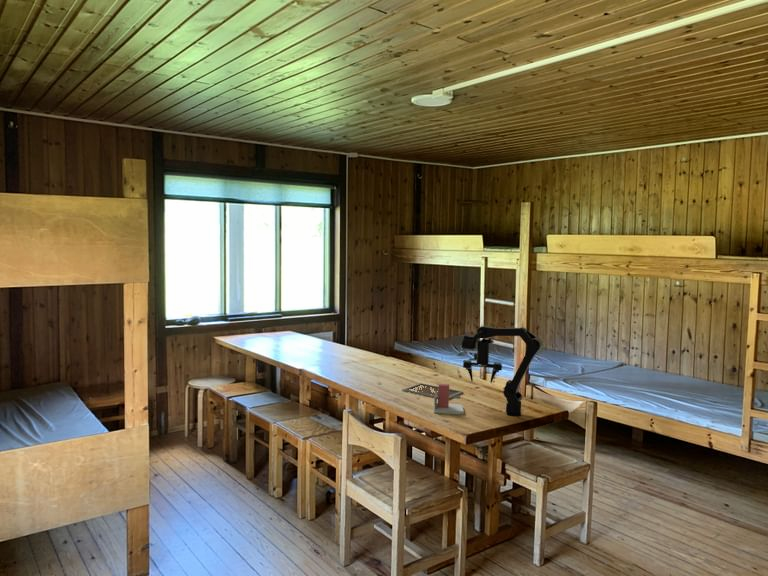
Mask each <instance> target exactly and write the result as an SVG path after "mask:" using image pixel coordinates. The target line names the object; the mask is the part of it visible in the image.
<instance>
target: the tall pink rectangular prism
mask: <svg viewBox="0 0 768 576" xmlns="http://www.w3.org/2000/svg"><path fill="white" fill-rule="evenodd" d="M438 387H439V389H438V399H437V403H438V408H448V404H450V403H449V400H450V399H449V389H450V383H438Z"/></svg>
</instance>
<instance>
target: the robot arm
mask: <svg viewBox="0 0 768 576" xmlns="http://www.w3.org/2000/svg"><path fill="white" fill-rule="evenodd" d="M492 337H493V338H494V337H520V338H521V339H522V341H523V342H524V343H525V345H527V346H526V349H525V354H524V356H523V358H522V361H521V362H520V364H519V367H518V368H517V370H516V372H515V374H514V376H513V378H512V379H509V380H507V381H506V382H505V386H504V387H503V389H502V390H503V397H504V398H506V403H505V413H506V414H507V416H515V417H516V416H517V417H521V416H522V400H523V398H524V397H523V395H522V394H521V392H520V387H521V382H522V380H523V378H524V376H525V374H526V372H528V369H529V367H530V365H531V363H532V361H533V359H534V358H535V357H536V355H537V354H538V353H539V351H541V349H542V348H543V346H544V343H543V340H542V339H541V338H540V337H537V336H535V334H533V333H532V332H530V331H529V330H528V329H527V328H526V327H524V326H523V327H496V326H495V327H494V326H492V325H482V326H480V327H479V328H477V330H476V334H475V335H474V336H471V335H463V339H462V342H461V348H462V349H463V350H469V351H474V350H475V349H477V350H476V351H477V352H475V353H473V360H474V361H476V362H472V360H470V359H469V360H467V359H466V360H463V362H462V368H464V369H465V370H466V371H467V372H468V374H469V377H470V381H471V382H473V377H474V376H473V367H474V368H475V367H476V368H477V367H478V368H487V369H489V368H490V369H491V370H492V372H491V377H490V384H492V383H493V380H494V378H495V376H496V374H498V373H499V372H500V371H502V370H503V364H502V363H501V362H496V361H495V362H493V363H489V359H490V358H489V357H490V345H491V344H493V343H494V340H493V339H492Z"/></svg>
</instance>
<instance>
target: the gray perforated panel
mask: <svg viewBox="0 0 768 576" xmlns="http://www.w3.org/2000/svg"><path fill="white" fill-rule="evenodd" d="M420 385H423V386H424V388H423V387H422V390H421V388H420V390H419V387H418V386H420ZM425 386H427V387H426V388H425ZM415 387H418V390H417V392H415V391H411V390H409V389H413V388H415ZM430 387H432V389H433V388H434V391H438V389H439V385H433V384H428V383H422V382H420V383H419V382H418V383H417V384H416V383H415V384H413V385H411V386H407V387H405V388H402V390H401V391H402V392H403V391H405V393H408V392H410V393H409V394H413V393H414V394H413V395H417V394H419V396H422V395H423V396H422V397H428V398H431V397H432V399H435V393H434V392H433V393H432V392H431V390H430ZM414 390H415V389H414ZM418 391H419V392H418ZM422 391H423V392H422ZM431 394H432V395H431ZM458 395H459V396H458ZM461 395H464V391H463V390H457V389H452V388H449V400H452V399H460V398H461ZM437 400H438V392H437Z"/></svg>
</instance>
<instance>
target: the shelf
mask: <svg viewBox="0 0 768 576" xmlns="http://www.w3.org/2000/svg"><path fill="white" fill-rule="evenodd" d="M433 399H434V402H433V413H434V414H445V415H446V414H447V415H460V414H464V415H465V411H464V408H463V407H464V406H463V404H457V403H449V404H448V408H438V399H437V391H435V398H433Z"/></svg>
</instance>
